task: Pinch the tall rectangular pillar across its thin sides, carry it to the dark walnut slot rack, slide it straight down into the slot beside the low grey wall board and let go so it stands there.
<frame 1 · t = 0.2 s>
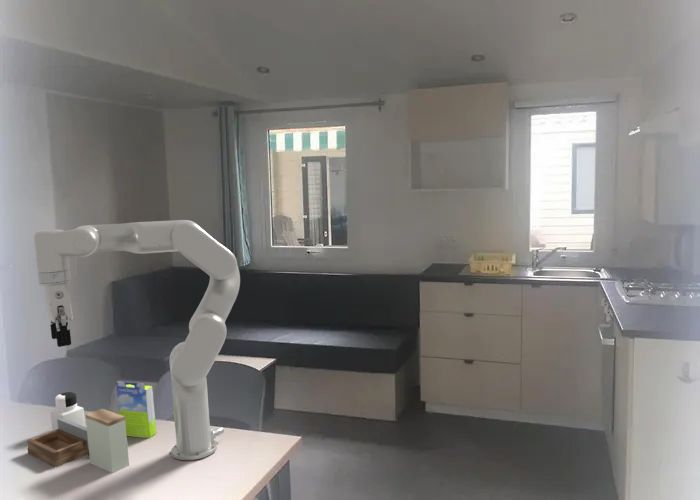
hand: (61, 341, 161), 36 cm above the table, tool pointing down, fingers open, 9 cm apart
tall rectangular pillar: (109, 464, 169), on the table
box: (138, 435, 188), on the table
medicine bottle: (69, 431, 193), on the table
slot rack: (58, 453, 177), on the table
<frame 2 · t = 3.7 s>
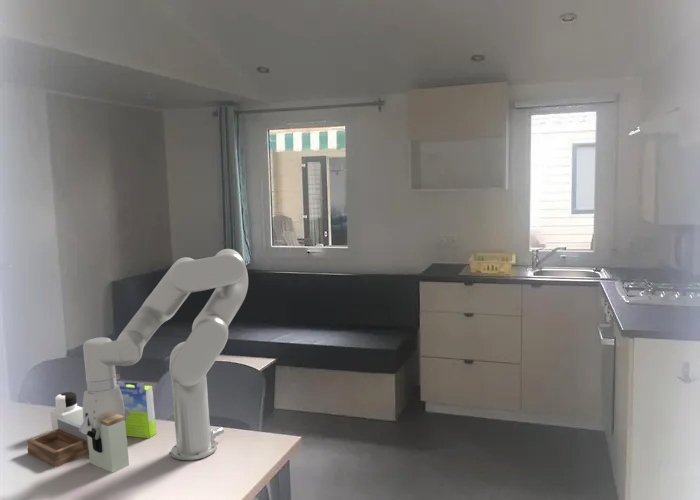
hand: (107, 446, 168), 5 cm above the table, tool pointing down, fingers closed on tall rectangular pillar, 5 cm apart
tall rectangular pillar: (109, 463, 169), on the table, touching gripper
everything else where it was.
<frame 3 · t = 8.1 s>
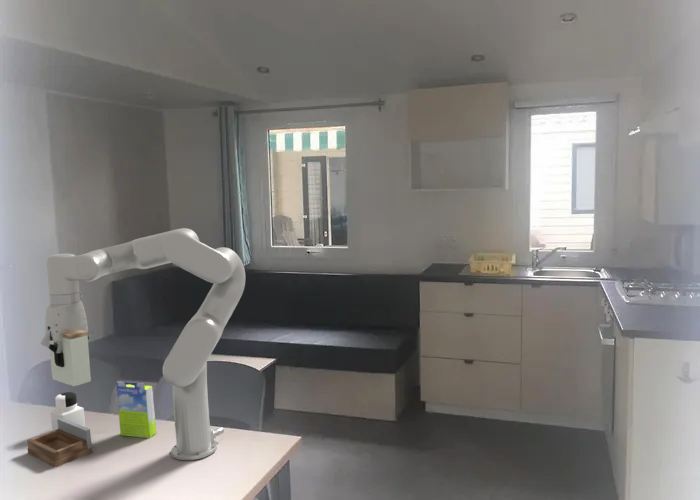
hand: (70, 362, 170), 28 cm above the table, tool pointing down, fingers closed on tall rectangular pillar, 5 cm apart
tall rectangular pillar: (71, 380, 170), point 23 cm above the table, touching gripper
everything else where it was.
when the fingers open (7 cm above the table, at t = 12.7 s): tall rectangular pillar stays where it is, resting on slot rack.
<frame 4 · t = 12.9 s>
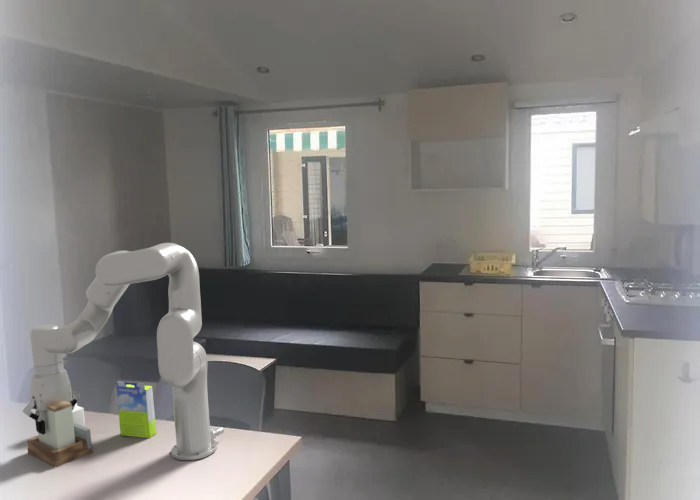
hand: (55, 427, 176), 8 cm above the table, tool pointing down, fingers open, 7 cm apart
tall rectangular pillar: (57, 448, 177), point 1 cm above the table, touching slot rack
everything else where it was.
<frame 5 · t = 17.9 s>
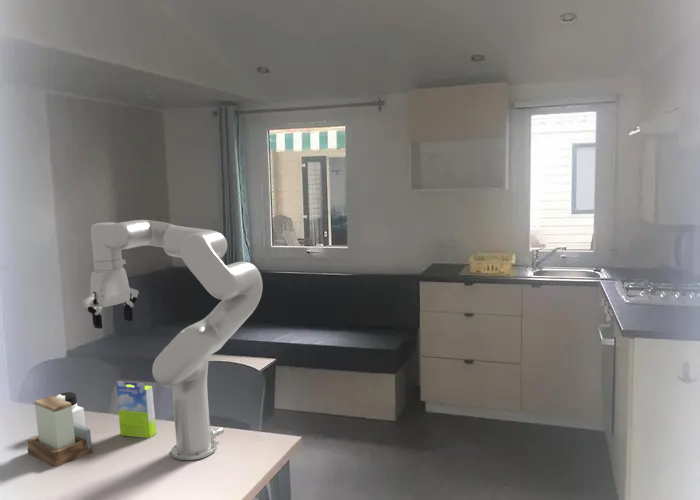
hand: (113, 324, 177), 36 cm above the table, tool pointing down, fingers open, 9 cm apart
nothing on the table moved.
at the end: tall rectangular pillar 0.1 cm off-centre on the slot rack, point 1.5 cm above the slot rack's base; tall rectangular pillar tilted 0°; the gripper is holding nothing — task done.
